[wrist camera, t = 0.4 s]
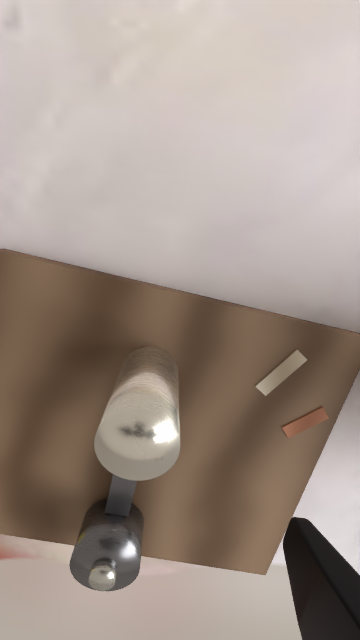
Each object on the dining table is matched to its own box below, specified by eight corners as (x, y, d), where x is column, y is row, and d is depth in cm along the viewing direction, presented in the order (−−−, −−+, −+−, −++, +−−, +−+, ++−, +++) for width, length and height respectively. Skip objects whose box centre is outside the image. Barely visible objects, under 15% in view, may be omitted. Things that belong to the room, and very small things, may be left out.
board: (361, 333, 19) (374, 340, 18) (261, 559, 25) (265, 576, 24) (4, 248, 17) (-10, 250, 16) (-16, 515, 23) (-27, 531, 22)
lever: (137, 548, 22) (121, 691, 15) (79, 539, 22) (35, 681, 15) (193, 347, 18) (205, 421, 11) (120, 331, 17) (84, 397, 10)
